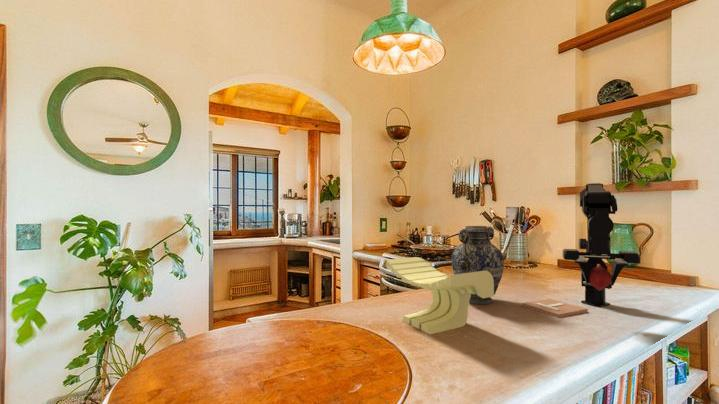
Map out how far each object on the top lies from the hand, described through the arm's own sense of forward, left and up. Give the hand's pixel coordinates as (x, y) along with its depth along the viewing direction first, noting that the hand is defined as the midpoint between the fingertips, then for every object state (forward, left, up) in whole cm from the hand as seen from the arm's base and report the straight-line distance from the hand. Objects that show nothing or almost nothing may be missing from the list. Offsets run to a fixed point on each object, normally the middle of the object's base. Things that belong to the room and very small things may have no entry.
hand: (599, 284), depth 103 cm
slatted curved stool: (+45, -20, -12) cm, 51 cm away
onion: (0, 0, -2) cm, 2 cm away
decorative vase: (+16, -34, -12) cm, 40 cm away
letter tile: (0, -15, -12) cm, 19 cm away
